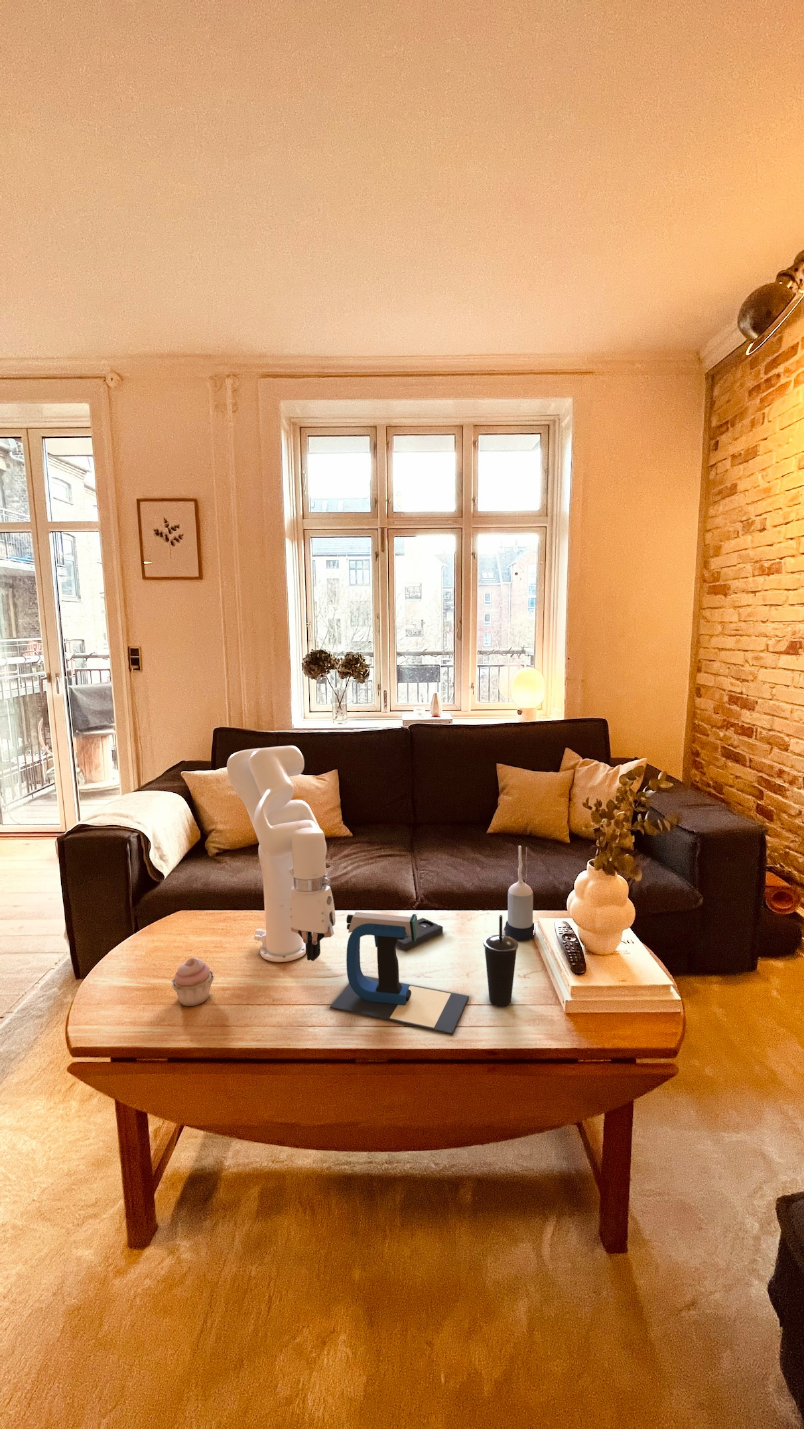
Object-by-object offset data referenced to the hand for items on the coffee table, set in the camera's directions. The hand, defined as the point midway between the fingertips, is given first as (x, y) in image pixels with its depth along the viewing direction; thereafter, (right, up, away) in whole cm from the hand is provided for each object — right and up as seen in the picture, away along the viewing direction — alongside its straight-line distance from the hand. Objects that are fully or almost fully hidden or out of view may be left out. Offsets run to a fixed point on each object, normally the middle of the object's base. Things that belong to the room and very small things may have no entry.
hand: (313, 957), depth 141 cm
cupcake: (-27, -8, -4) cm, 28 cm away
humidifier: (+53, -4, +25) cm, 59 cm away
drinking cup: (+43, -7, -6) cm, 44 cm away
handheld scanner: (+17, -7, -5) cm, 19 cm away
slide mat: (+20, -8, -6) cm, 23 cm away
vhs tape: (+24, -4, +24) cm, 34 cm away
